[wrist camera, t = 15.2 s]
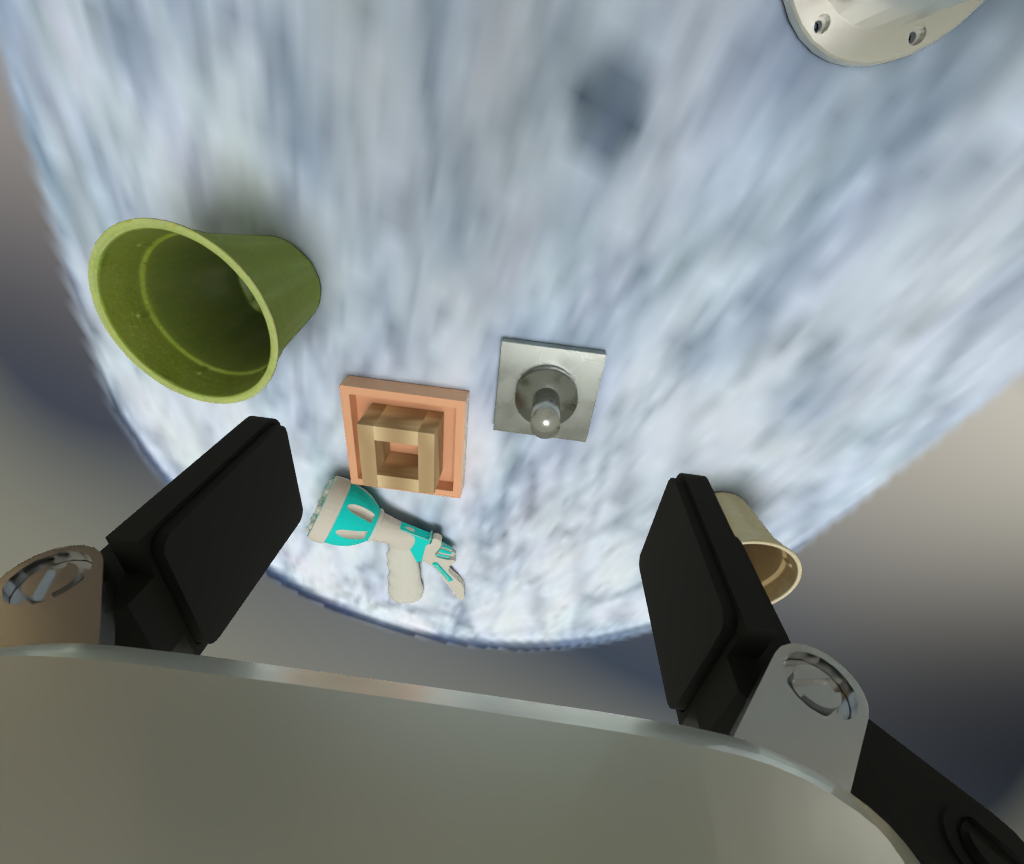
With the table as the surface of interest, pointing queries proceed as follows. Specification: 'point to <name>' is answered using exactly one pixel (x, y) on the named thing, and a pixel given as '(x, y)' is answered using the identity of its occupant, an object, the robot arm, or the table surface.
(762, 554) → the flower pot
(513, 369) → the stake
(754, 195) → the table surface
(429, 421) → the wooden ring
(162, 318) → the plant pot
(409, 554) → the garden hose nozzle
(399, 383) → the terracotta tray
